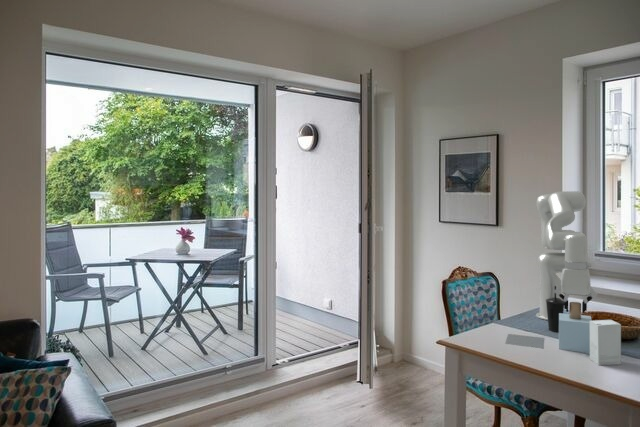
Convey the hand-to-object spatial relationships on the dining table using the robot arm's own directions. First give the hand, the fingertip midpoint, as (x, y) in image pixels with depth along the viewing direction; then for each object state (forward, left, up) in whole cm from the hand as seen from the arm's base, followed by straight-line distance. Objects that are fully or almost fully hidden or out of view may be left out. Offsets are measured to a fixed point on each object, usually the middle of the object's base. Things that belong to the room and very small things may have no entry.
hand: (575, 311), depth 183 cm
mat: (0, -18, -15) cm, 23 cm away
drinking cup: (-20, -7, -15) cm, 26 cm away
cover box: (0, 0, -15) cm, 15 cm away
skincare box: (+13, +9, -15) cm, 22 cm away
